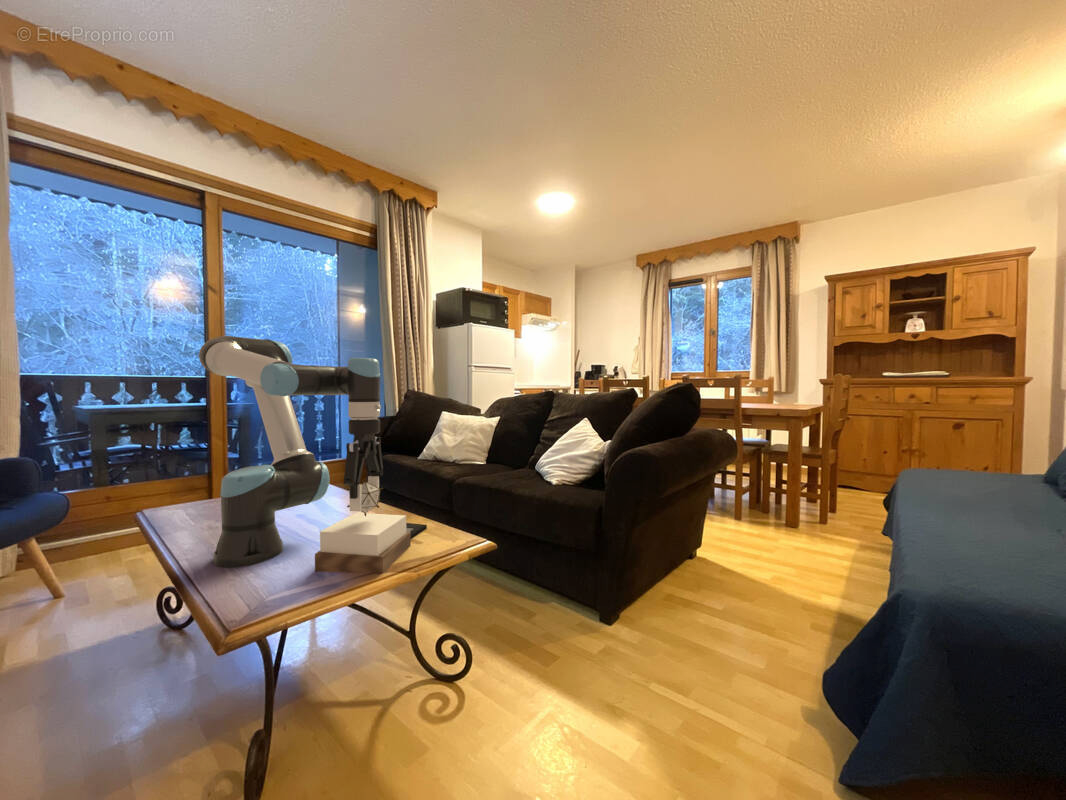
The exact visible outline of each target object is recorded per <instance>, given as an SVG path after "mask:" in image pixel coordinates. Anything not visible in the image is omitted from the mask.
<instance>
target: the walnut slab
mask: <svg viewBox="0 0 1066 800" xmlns="http://www.w3.org/2000/svg"><path fill="white" fill-rule="evenodd" d="M411 540H412V539H411V536H410V532H407V531H406V534H405V535H404V536H403V537H401V538H400V539H399V540H398V541H396V542H395V543H394V544H392V545H391V546H390V547H389V548H387V549H386V550H385V551H383V552H382V553H381V554H379V555H378V556H371V555H357V554H344V553H330V552H320V550H319V551H317V552H316V553H314V572H324V573H325V572H326V573H359V572H360V573H364V572H365V573H366V572H375V573H374V574H383V573H385V572H386V571H387V570H388V569H389V568H390V567H391V566H392V565H394V564H395V562H396V561H397V560H398V559H399V558H400V557H401V556H402V555H404V553H405V552H406V551H407V550H408V549H409V548H410V547H411V544H412V543H411ZM366 574H367V573H366Z"/></svg>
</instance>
